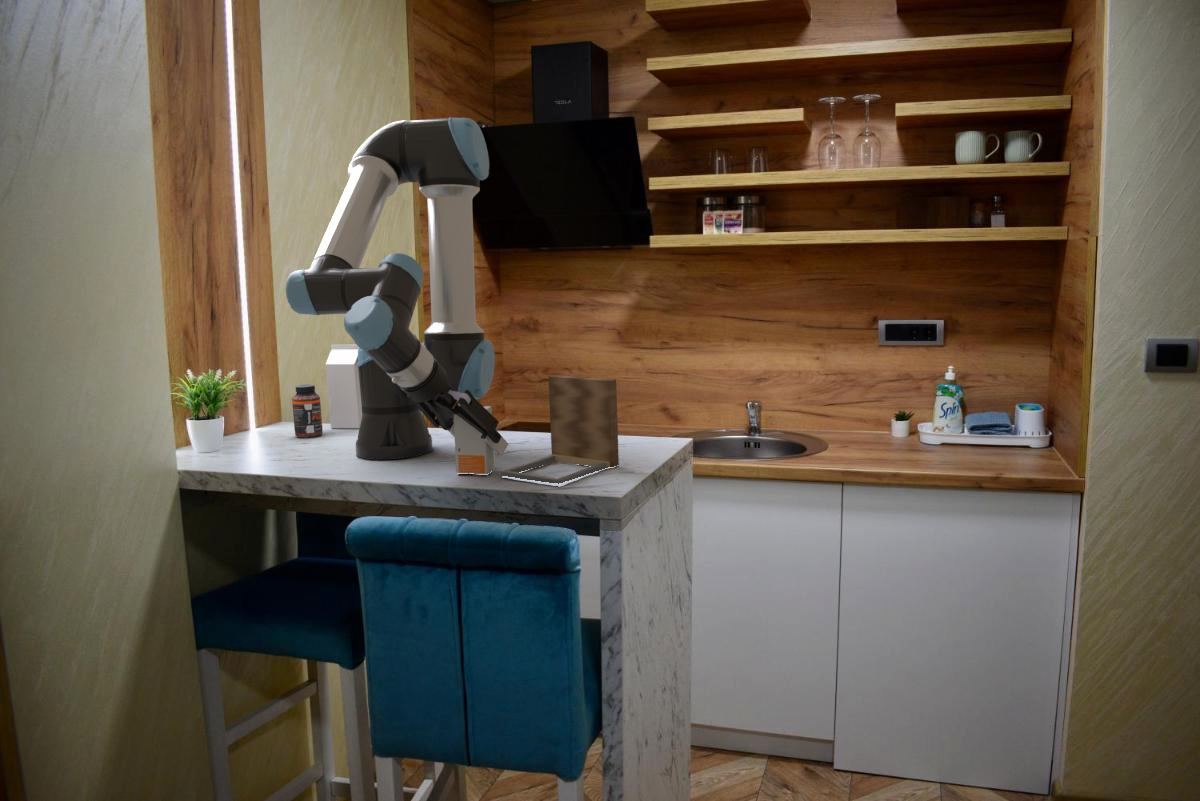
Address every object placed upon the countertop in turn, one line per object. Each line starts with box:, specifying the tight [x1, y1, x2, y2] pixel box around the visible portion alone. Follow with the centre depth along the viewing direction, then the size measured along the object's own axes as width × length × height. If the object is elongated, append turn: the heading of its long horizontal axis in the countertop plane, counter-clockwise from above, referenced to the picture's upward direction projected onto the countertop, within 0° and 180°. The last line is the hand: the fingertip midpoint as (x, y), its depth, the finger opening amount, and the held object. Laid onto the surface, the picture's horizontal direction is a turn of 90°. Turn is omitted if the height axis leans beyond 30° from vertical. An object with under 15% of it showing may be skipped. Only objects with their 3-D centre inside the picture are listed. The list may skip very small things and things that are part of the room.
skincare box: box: [453, 405, 495, 474], centre depth 168 cm, size 6×4×12 cm
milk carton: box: [325, 343, 362, 429], centre depth 215 cm, size 7×7×19 cm
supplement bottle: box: [291, 384, 324, 439], centre depth 206 cm, size 6×6×11 cm
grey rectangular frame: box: [500, 453, 610, 484], centre depth 167 cm, size 13×15×1 cm
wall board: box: [547, 374, 620, 467], centre depth 172 cm, size 14×2×16 cm, turn 54°
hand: (487, 447), depth 171 cm, fingers closed on skincare box, 7 cm apart
